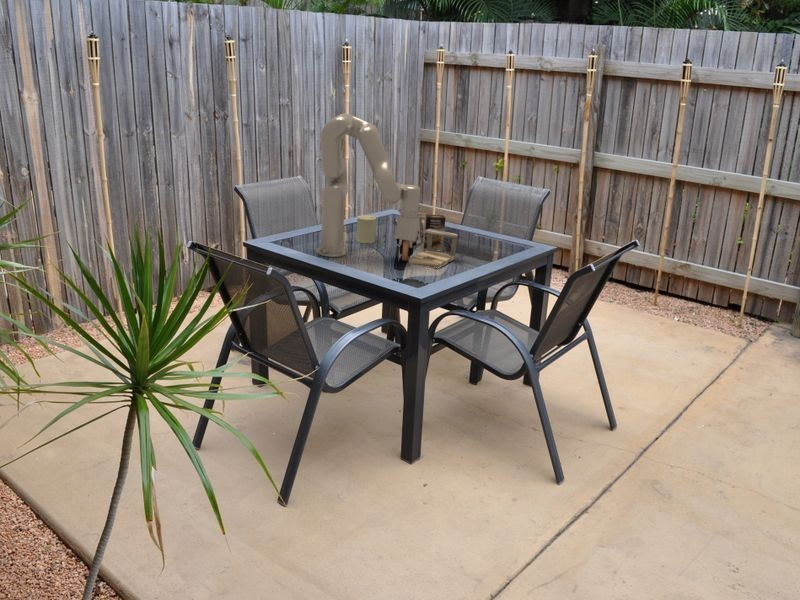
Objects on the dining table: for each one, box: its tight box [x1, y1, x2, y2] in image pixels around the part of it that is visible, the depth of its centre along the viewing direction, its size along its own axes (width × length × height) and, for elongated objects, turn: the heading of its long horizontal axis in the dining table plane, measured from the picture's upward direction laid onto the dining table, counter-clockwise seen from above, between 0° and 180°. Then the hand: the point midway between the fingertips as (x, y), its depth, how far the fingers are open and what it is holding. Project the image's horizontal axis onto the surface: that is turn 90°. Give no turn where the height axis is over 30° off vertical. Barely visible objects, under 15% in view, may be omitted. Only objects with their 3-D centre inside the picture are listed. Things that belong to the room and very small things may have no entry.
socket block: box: [408, 229, 458, 268], centre depth 321 cm, size 18×14×12 cm
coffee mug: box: [418, 212, 427, 236], centre depth 365 cm, size 13×10×10 cm
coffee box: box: [421, 213, 446, 252], centre depth 340 cm, size 9×6×16 cm
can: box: [355, 214, 377, 244], centre depth 346 cm, size 9×9×12 cm
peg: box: [401, 240, 411, 262], centre depth 321 cm, size 3×3×8 cm
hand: (406, 254), depth 322 cm, fingers closed on peg, 3 cm apart
